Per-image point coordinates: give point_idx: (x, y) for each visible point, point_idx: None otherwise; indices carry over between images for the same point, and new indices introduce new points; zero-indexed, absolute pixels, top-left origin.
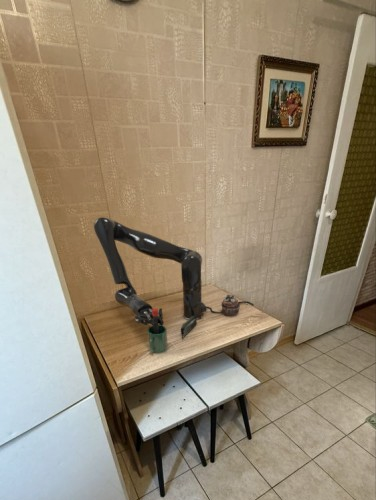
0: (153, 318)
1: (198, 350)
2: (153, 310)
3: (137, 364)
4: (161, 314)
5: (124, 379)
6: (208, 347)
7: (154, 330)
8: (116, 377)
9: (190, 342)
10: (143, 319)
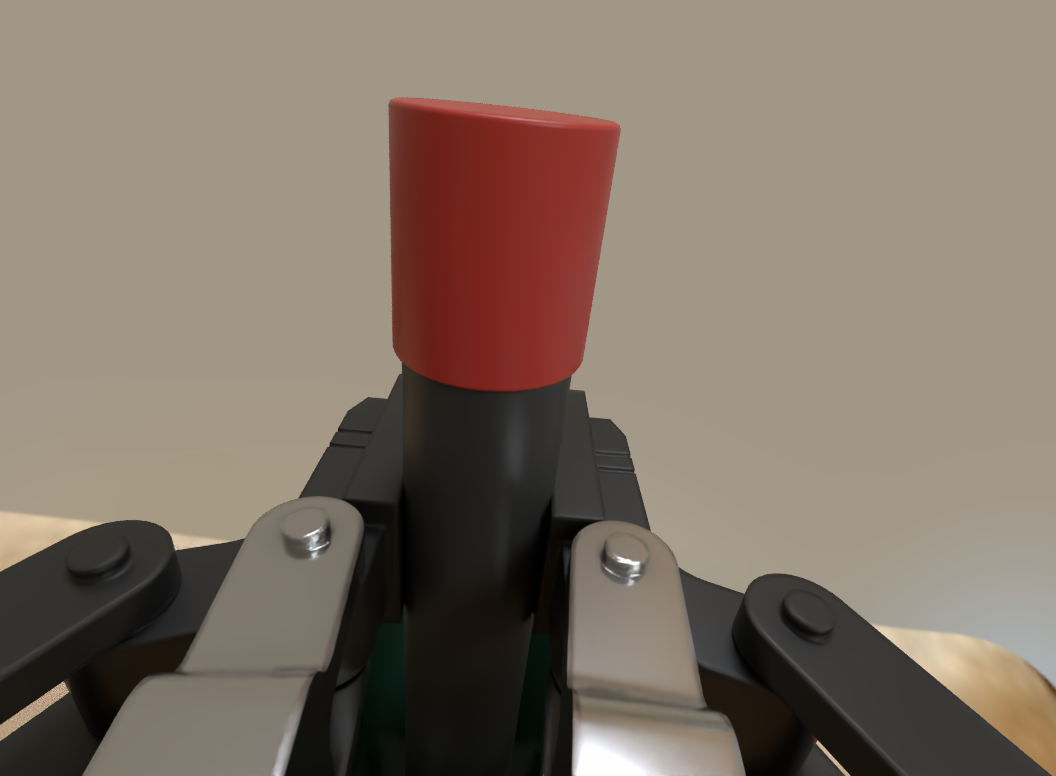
0: (561, 439)
1: (178, 548)
2: (585, 117)
3: (823, 751)
4: (93, 544)
5: (944, 636)
6: (76, 526)
7: (517, 719)
8: (1041, 703)
9: (39, 704)
10: (908, 662)
